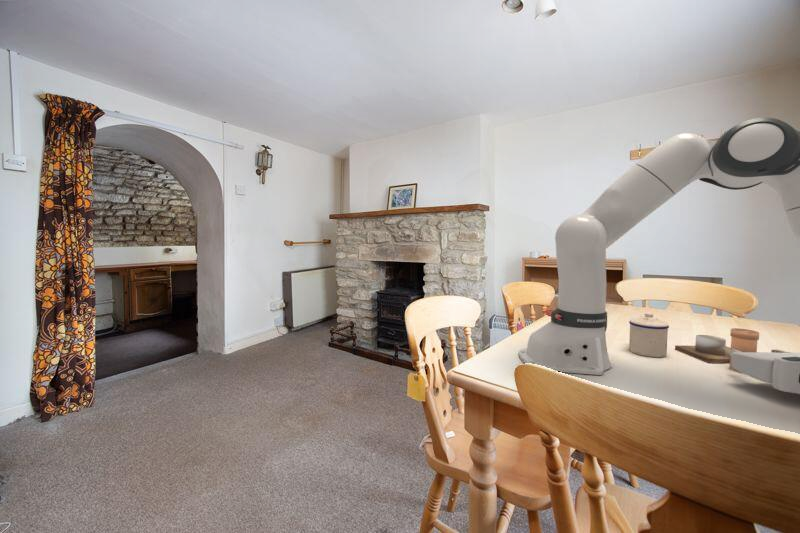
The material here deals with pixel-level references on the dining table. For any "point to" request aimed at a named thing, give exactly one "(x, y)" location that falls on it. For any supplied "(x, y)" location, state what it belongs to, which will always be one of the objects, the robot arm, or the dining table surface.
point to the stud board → (705, 356)
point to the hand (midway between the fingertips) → (753, 352)
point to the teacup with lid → (648, 336)
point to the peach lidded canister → (743, 341)
